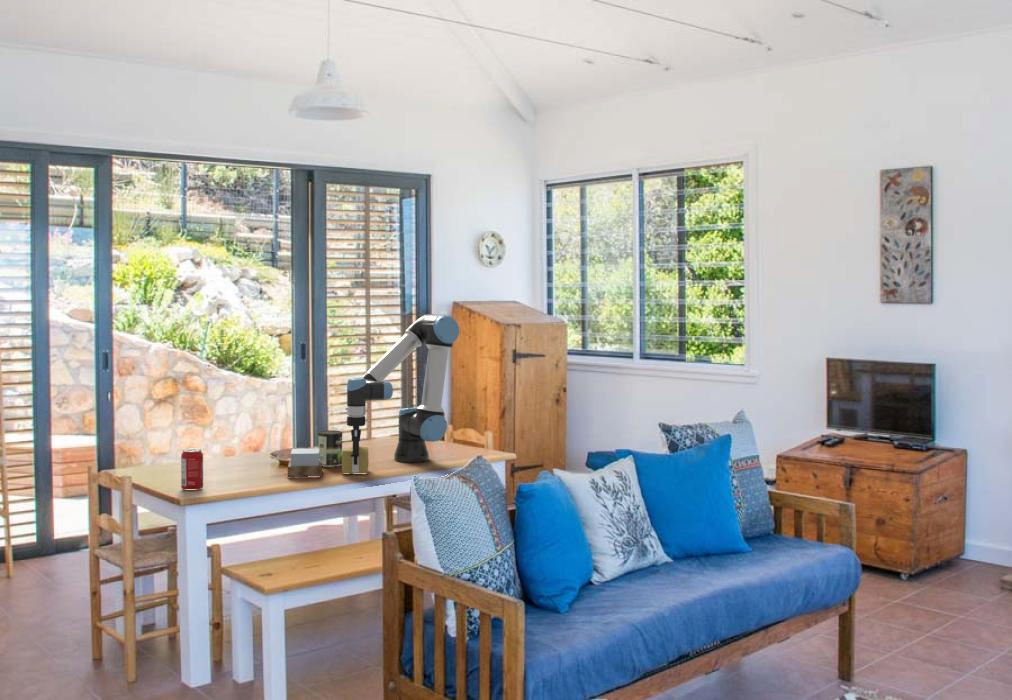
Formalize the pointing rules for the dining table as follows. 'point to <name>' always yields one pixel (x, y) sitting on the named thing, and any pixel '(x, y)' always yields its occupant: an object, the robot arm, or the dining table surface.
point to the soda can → (192, 469)
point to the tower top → (305, 457)
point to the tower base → (304, 470)
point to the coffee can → (330, 448)
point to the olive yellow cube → (348, 460)
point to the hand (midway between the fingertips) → (355, 469)
